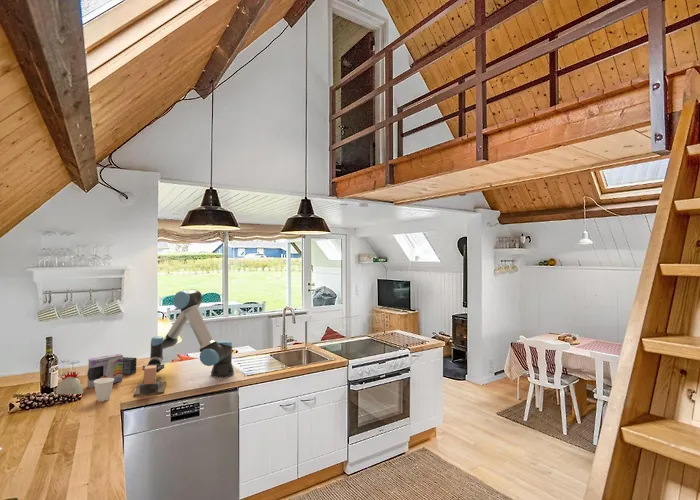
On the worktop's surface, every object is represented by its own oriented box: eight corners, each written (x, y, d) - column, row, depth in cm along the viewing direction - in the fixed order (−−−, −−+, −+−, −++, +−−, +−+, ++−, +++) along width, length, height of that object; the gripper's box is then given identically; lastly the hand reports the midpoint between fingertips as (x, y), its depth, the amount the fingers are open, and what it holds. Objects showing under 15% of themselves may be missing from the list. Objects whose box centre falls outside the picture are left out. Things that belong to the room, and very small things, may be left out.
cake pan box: (87, 388, 237) (88, 359, 237) (85, 386, 240) (86, 358, 240) (122, 382, 251) (123, 354, 251) (120, 380, 254) (121, 353, 254)
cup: (117, 398, 223) (118, 378, 223) (101, 404, 214) (102, 384, 214) (104, 395, 226) (105, 376, 227) (88, 401, 217) (89, 381, 217)
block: (155, 388, 237) (156, 365, 237) (154, 391, 231) (155, 367, 232) (144, 389, 235) (145, 365, 235) (143, 392, 229) (144, 368, 229)
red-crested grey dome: (83, 399, 221) (84, 372, 221) (52, 403, 213) (53, 376, 213) (83, 391, 232) (84, 366, 232) (54, 395, 224) (55, 369, 225)
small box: (136, 372, 271) (137, 357, 271) (130, 375, 264) (131, 359, 265) (122, 371, 272) (123, 356, 272) (116, 374, 265) (116, 359, 266)
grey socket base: (166, 383, 251) (166, 373, 251) (163, 393, 232) (164, 383, 232) (138, 385, 245) (138, 375, 245) (133, 396, 226) (133, 386, 226)
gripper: (165, 368, 260) (162, 379, 238) (143, 370, 256) (138, 381, 234) (165, 357, 261) (162, 367, 239) (143, 358, 256) (138, 369, 234)
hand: (150, 374), depth 236 cm, fingers closed
